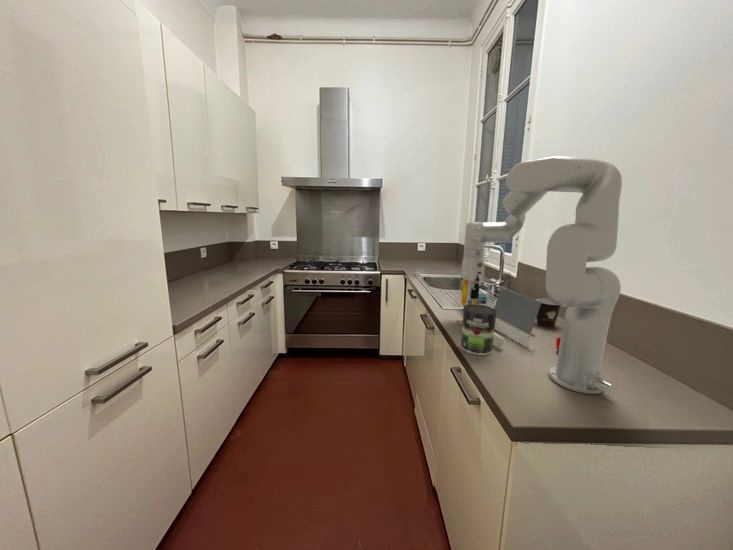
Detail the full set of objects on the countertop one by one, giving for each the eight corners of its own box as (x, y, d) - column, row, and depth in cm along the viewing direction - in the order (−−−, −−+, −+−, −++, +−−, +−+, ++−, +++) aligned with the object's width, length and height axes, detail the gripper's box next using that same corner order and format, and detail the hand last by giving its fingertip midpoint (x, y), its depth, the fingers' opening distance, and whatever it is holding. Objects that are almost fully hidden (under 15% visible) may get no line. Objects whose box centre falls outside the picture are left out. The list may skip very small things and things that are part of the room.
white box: (533, 348, 100) (535, 334, 99) (503, 352, 97) (505, 337, 96) (490, 324, 122) (491, 312, 121) (465, 326, 119) (466, 314, 118)
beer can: (474, 304, 125) (477, 270, 122) (478, 309, 119) (481, 273, 116) (459, 303, 126) (462, 269, 123) (462, 308, 120) (465, 272, 117)
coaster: (483, 325, 121) (483, 324, 120) (463, 327, 119) (463, 326, 118) (471, 318, 129) (471, 317, 129) (452, 319, 127) (452, 319, 127)
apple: (569, 332, 101) (556, 327, 98) (589, 343, 95) (575, 338, 92) (558, 348, 103) (545, 344, 99) (576, 360, 97) (563, 356, 93)
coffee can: (491, 358, 93) (496, 315, 90) (458, 351, 97) (461, 310, 94) (493, 345, 102) (497, 306, 99) (462, 340, 106) (465, 302, 104)
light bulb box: (486, 316, 132) (488, 293, 130) (471, 316, 132) (473, 293, 130) (478, 309, 143) (480, 287, 140) (464, 308, 143) (465, 287, 140)
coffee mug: (557, 323, 124) (561, 300, 122) (557, 330, 117) (561, 306, 115) (526, 318, 130) (529, 296, 128) (524, 324, 123) (527, 301, 121)
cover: (528, 334, 100) (530, 335, 101) (539, 301, 99) (542, 302, 99) (491, 315, 119) (494, 316, 119) (500, 287, 117) (503, 288, 118)
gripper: (495, 256, 111) (490, 301, 114) (469, 250, 127) (466, 290, 131) (477, 256, 109) (473, 303, 113) (454, 250, 125) (450, 291, 129)
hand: (469, 295), depth 122 cm, fingers closed on beer can, 6 cm apart
